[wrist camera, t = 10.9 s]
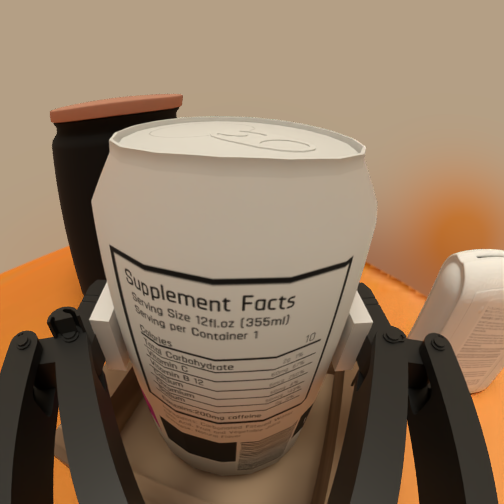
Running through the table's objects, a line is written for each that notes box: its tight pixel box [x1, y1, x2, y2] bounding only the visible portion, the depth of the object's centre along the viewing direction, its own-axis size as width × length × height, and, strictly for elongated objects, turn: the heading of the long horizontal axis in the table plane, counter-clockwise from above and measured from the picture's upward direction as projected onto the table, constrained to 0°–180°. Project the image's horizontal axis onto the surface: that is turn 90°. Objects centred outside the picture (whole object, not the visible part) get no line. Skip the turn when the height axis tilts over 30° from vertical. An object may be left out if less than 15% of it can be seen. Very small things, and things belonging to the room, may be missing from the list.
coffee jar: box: [50, 94, 183, 296], centre depth 24 cm, size 11×11×18 cm
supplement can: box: [91, 116, 377, 476], centre depth 12 cm, size 8×8×15 cm
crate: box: [54, 358, 359, 504], centre depth 16 cm, size 15×15×5 cm
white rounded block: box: [407, 249, 504, 393], centre depth 17 cm, size 10×4×12 cm, turn 81°
